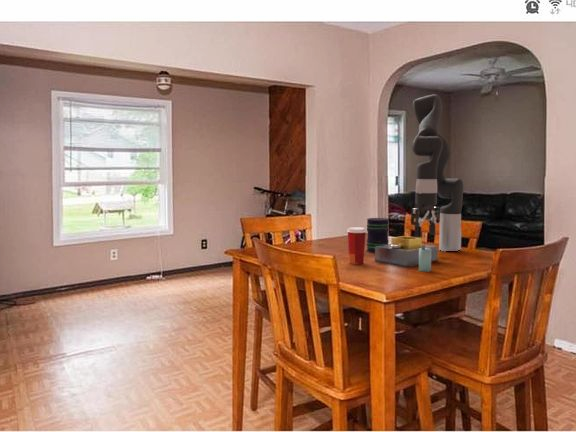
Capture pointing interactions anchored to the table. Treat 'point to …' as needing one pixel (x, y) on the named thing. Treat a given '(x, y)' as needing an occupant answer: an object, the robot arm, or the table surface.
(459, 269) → the table surface
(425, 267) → the spout can
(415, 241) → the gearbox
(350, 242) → the paper cup
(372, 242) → the storage jar
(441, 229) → the robot arm
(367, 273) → the table surface
